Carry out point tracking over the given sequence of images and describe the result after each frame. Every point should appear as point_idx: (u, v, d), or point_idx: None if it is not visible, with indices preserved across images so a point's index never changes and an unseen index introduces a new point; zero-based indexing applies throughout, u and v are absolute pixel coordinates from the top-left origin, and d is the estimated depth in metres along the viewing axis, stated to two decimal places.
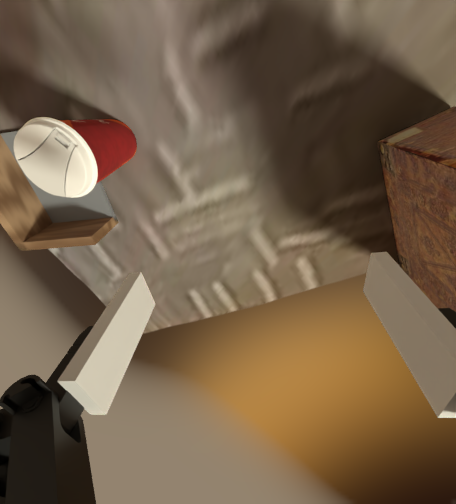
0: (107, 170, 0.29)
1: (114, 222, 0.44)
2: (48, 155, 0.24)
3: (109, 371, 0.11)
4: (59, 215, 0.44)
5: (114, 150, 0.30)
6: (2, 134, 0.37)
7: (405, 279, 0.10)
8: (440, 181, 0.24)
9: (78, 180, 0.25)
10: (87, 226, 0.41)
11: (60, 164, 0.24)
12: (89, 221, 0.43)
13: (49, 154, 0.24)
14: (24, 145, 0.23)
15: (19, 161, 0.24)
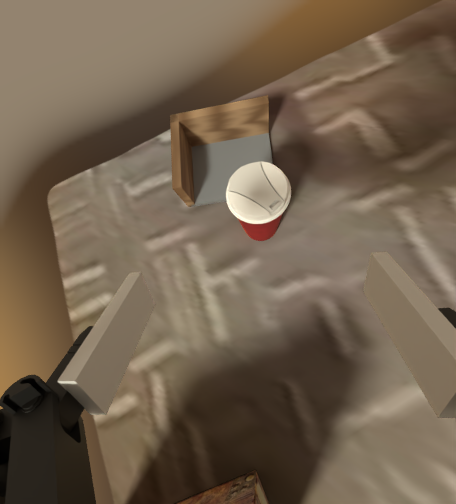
0: (245, 224, 0.33)
1: (189, 204, 0.45)
2: (264, 189, 0.29)
3: (109, 371, 0.11)
4: (198, 155, 0.47)
5: (259, 231, 0.35)
6: (268, 134, 0.46)
7: (405, 279, 0.10)
8: None
9: (242, 207, 0.29)
10: (188, 181, 0.43)
11: (256, 195, 0.29)
12: (192, 181, 0.45)
13: (264, 190, 0.29)
14: (272, 172, 0.29)
15: (259, 163, 0.29)
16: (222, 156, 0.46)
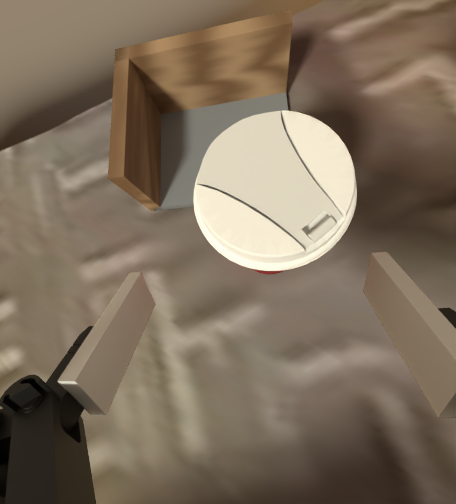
0: None
1: (151, 207, 0.27)
2: (289, 181, 0.11)
3: (109, 371, 0.11)
4: (171, 127, 0.29)
5: None
6: (285, 94, 0.28)
7: (405, 279, 0.10)
8: None
9: (230, 228, 0.11)
10: (147, 168, 0.25)
11: (268, 199, 0.11)
12: (156, 169, 0.27)
13: (290, 184, 0.11)
14: (311, 139, 0.11)
15: (278, 115, 0.11)
16: (209, 129, 0.28)
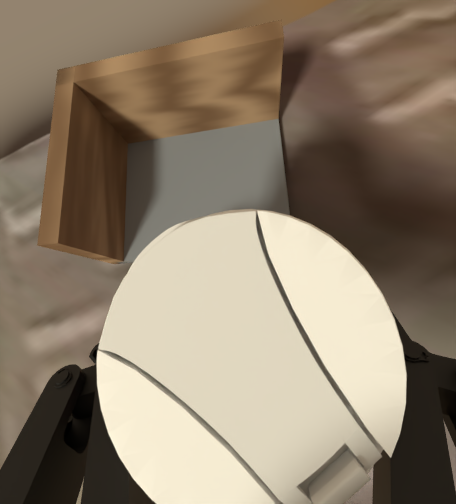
0: None
1: (112, 261, 0.22)
2: (270, 366, 0.05)
3: None
4: (139, 160, 0.24)
5: None
6: (277, 121, 0.22)
7: None
8: None
9: (154, 461, 0.05)
10: (103, 217, 0.20)
11: (228, 399, 0.05)
12: (119, 215, 0.22)
13: (272, 373, 0.05)
14: (313, 275, 0.06)
15: (250, 220, 0.06)
16: (184, 164, 0.23)
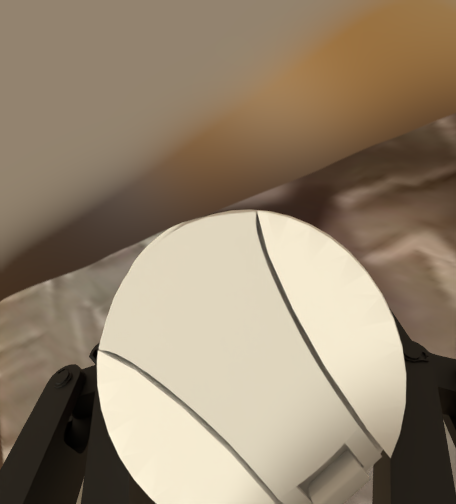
0: None
1: None
2: (270, 367, 0.05)
3: None
4: None
5: None
6: None
7: None
8: None
9: (154, 461, 0.05)
10: None
11: (229, 399, 0.05)
12: None
13: (273, 373, 0.05)
14: (313, 275, 0.06)
15: (251, 220, 0.06)
16: None
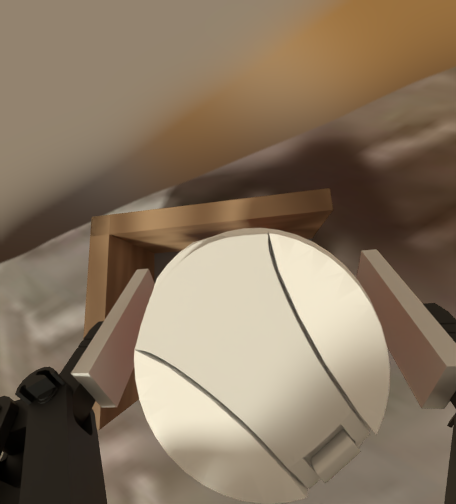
0: None
1: None
2: (281, 363, 0.07)
3: (119, 365, 0.11)
4: None
5: None
6: None
7: (393, 275, 0.11)
8: None
9: (185, 441, 0.07)
10: None
11: (246, 390, 0.07)
12: None
13: (282, 369, 0.06)
14: (316, 288, 0.07)
15: (264, 241, 0.07)
16: None
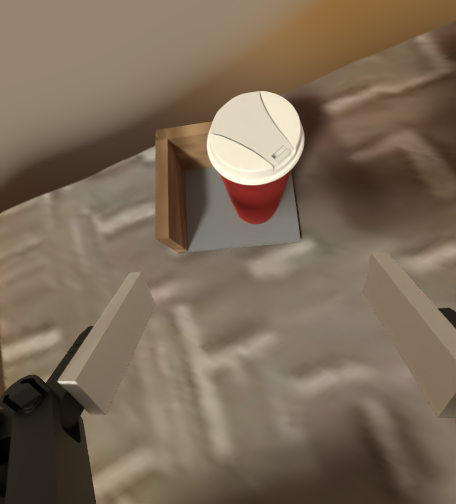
0: (234, 192, 0.23)
1: (180, 251, 0.33)
2: (264, 130, 0.19)
3: (109, 371, 0.11)
4: (194, 182, 0.35)
5: (254, 204, 0.25)
6: None
7: (405, 279, 0.10)
8: None
9: (231, 157, 0.18)
10: (179, 222, 0.31)
11: (252, 140, 0.19)
12: (184, 220, 0.33)
13: (264, 131, 0.19)
14: (276, 107, 0.19)
15: (258, 93, 0.19)
16: None
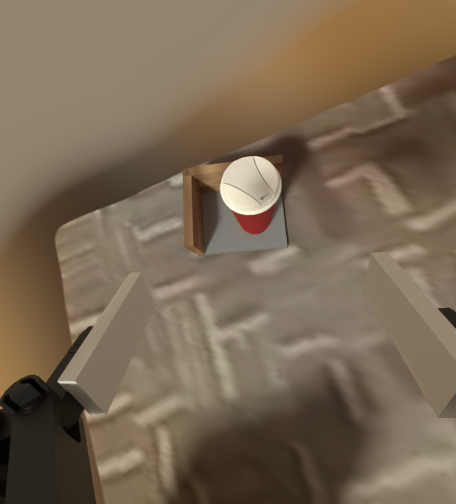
0: (238, 216, 0.35)
1: (199, 254, 0.45)
2: (255, 182, 0.30)
3: (109, 371, 0.11)
4: (209, 202, 0.47)
5: (251, 223, 0.36)
6: None
7: (405, 279, 0.10)
8: None
9: (235, 198, 0.30)
10: (199, 233, 0.43)
11: (248, 188, 0.30)
12: (202, 231, 0.45)
13: (256, 182, 0.30)
14: (263, 166, 0.30)
15: (252, 157, 0.31)
16: None
